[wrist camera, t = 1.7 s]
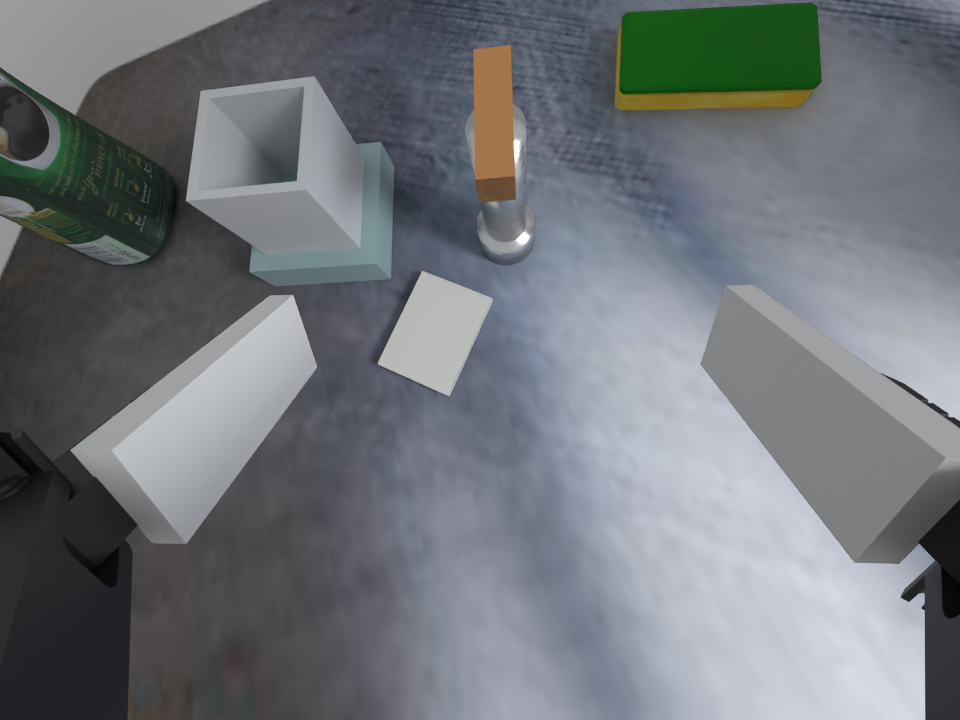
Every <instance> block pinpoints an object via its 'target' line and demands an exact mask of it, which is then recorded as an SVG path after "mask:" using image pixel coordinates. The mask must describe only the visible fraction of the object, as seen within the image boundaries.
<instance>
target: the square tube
mask: <svg viewBox="0 0 960 720" xmlns="http://www.w3.org/2000/svg"><path fill="white" fill-rule="evenodd" d="M393 196H394V166H393V164H392V162H391V160H390V158H389V156H388V154H387V152H386V150H385V148H384V147H383V145H382V143H381V142H374V143H365V144H355V142H354V141H353V139H352V137H351V136H350V134H349V132H348V131H347V129H346V127H345V126H344V124H343V122H342V121H341V119H340V117H339V116H338V114H337V113H336V111H335V109H334V108H333V106H332V104H331V103H330V101H329V99H328V98H327V96H326V94H325V93H324V91H323V89H322V88H321V86H320V84H319V83H318V81H317V79H316V78H315V76H314V77H306V78H298V79H290V80H283V81H275V82H267V83H259V84H252V85H244V86H236V87H228V88H220V89H213V90H205V91H201V93H200V101H199V108H198V115H197V123H196V130H195V138H194V145H193V152H192V160H191V167H190V174H189V182H188V189H187V196H186V201H187V202H188V203H190V204H191V205H193V206H194V207H196V208H197V209H199V210H200V211H202V212H203V213H205V214H206V215H208V216H209V217H211V218H212V219H214V220H215V221H217V222H218V223H220V224H221V225H223V226H224V227H226V228H227V229H229V230H230V231H232V232H233V233H235V234H236V235H238V236H239V237H241V238H242V239H244V240H245V241H247V242H248V243H250V244H251V245H252V250H251V260H250V270H249V272H250V273H252V274H254V275H255V276H257V277H259V278H261V279H263V280H264V281H266V282H268V283H270V284H272V285H273V286H291V285H307V284H323V283H340V282H356V281H373V280H389V279H391V263H392V229H393Z"/></svg>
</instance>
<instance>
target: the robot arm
mask: <svg viewBox="0 0 960 720" xmlns="http://www.w3.org/2000/svg"><path fill="white" fill-rule="evenodd" d="M701 366H702V367H703V368H704V370H705V371H706V372H707V373H708V375H709V376H710V377H711V379H712V380H713V381H714V382H715V384H716V385H717V386H718V388H719V389H720V390H721V391H722V393H723V394H724V395H725V397H726V398H727V399H728V400H729V402H730V403H731V404H732V406H733V407H734V408H735V409H736V411H737V412H738V413H739V415H740V416H741V417H742V418H743V420H744V421H745V422H746V424H747V425H748V426H749V427H750V429H751V430H752V431H753V433H754V434H755V435H756V436H757V438H758V439H759V440H760V442H761V443H762V444H763V445H764V447H765V448H766V449H767V451H768V452H769V453H770V454H771V456H772V457H773V458H774V460H775V461H776V462H777V463H778V465H779V466H780V467H781V469H782V470H783V471H784V472H785V474H786V475H787V476H788V478H789V479H790V480H791V481H792V483H793V484H794V485H795V487H796V488H797V489H798V491H799V492H800V493H801V494H802V496H803V497H804V498H805V500H806V501H807V502H808V503H809V505H810V506H811V507H812V509H813V510H814V511H815V512H816V514H817V515H818V516H819V518H820V519H821V520H822V521H823V523H824V524H825V525H826V527H827V528H828V529H829V530H830V532H831V533H832V534H833V536H834V537H835V538H836V539H837V541H838V542H839V543H840V545H841V546H842V547H843V548H844V550H845V551H846V552H847V554H848V555H849V556H850V557H851V559H852V560H853V561H854V562H855V563H891V564H899V563H900V562H901V561H902V560H903V559H904V558H905V557H906V556H907V555H908V554H909V553H910V552H911V551H912V550H913V549H914V548H915V547H916V546H917V545H918V544H920V545H921V546H922V547H923V548H924V549H925V550H926V551H927V552H928V553H929V554H930V555H931V556H932V557H933V558H934V559H935V560H936V561H935V562H933V563H932V564H931V565H930V566H929V567H928V568H927V569H926V570H925V571H924V572H923V573H922V574H921V575H919V576H918V577H917V578H916V579H915V580H914V581H913V582H912V583H911V584H910V585H909V586H908V587H906V588H905V589H904V591H903V593H902V595H901V598H902V599H904V600H906V601H908V602H909V601H911V600H912V599H913V598H914V597H915V596H916V595H917V594H919V593H925V604H924V605H923V606H922V609H924V610H925V716H926V720H960V421H958V420H957V419H955V418H954V417H948V413H947V412H945V411H944V410H942V409H941V408H939V407H938V406H936V405H935V404H933V403H928V400H927V399H926V398H925V397H923V396H922V395H920V394H919V393H917V392H916V391H914V390H913V389H911V388H910V387H908V386H907V385H905V384H904V383H902V382H899V381H897V380H895V379H893V378H890V377H888V376H886V375H884V374H882V373H879V372H878V371H877V370H875V369H874V368H872V367H871V366H869V365H868V364H866V363H865V362H864V361H862V360H861V359H859V358H858V357H856V356H855V355H853V354H852V353H851V352H849V351H848V350H846V349H845V348H843V347H842V346H840V345H839V344H838V343H836V342H835V341H833V340H832V339H830V338H829V337H827V336H826V335H825V334H823V333H822V332H820V331H819V330H817V329H816V328H814V327H813V326H812V325H810V324H809V323H807V322H806V321H804V320H803V319H802V318H800V317H799V316H797V315H796V314H794V313H793V312H791V311H790V310H789V309H787V308H786V307H784V306H783V305H781V304H780V303H778V302H777V301H776V300H774V299H773V298H771V297H770V296H768V295H767V294H765V293H764V292H763V291H761V290H760V289H758V288H757V287H755V286H754V285H730V286H725V289H724V292H723V295H722V299H721V302H720V305H719V308H718V311H717V314H716V317H715V321H714V324H713V327H712V330H711V333H710V336H709V339H708V342H707V346H706V349H705V352H704V355H703V358H702V361H701ZM316 368H317V365H316V362H315V359H314V356H313V353H312V350H311V347H310V344H309V341H308V338H307V335H306V332H305V329H304V326H303V323H302V320H301V317H300V314H299V311H298V308H297V305H296V302H295V299H294V296H293V295H272V296H269V297H267V298H266V299H265V300H263V301H262V302H261V303H260V304H258V305H257V306H256V307H254V308H253V309H252V310H251V311H249V312H248V313H247V314H245V315H244V316H243V317H241V318H240V319H239V320H238V321H236V322H235V323H234V324H232V325H231V326H230V327H229V328H227V329H226V330H225V331H223V332H222V333H221V334H220V335H218V336H217V337H216V338H214V339H213V340H212V341H210V342H209V343H208V344H207V345H205V346H204V347H203V348H201V349H200V350H199V351H198V352H196V353H195V354H194V355H192V356H191V357H190V358H189V359H187V360H186V361H185V362H183V363H182V364H181V365H179V366H178V367H177V368H176V369H174V370H173V371H172V372H170V373H169V374H168V375H167V376H165V377H164V378H163V379H161V380H160V381H159V382H158V383H156V384H155V385H154V386H152V387H150V388H148V389H147V390H146V391H144V392H143V393H142V394H140V395H139V396H138V397H136V398H135V399H134V400H133V401H131V402H130V404H129V405H126V406H125V407H123V408H122V409H121V410H120V411H118V412H117V413H116V414H115V416H114V417H110V418H109V419H108V420H107V421H105V422H104V423H103V424H101V425H100V426H99V427H97V428H96V429H95V430H94V431H92V432H91V433H90V434H88V435H87V436H86V437H85V438H83V439H82V440H81V441H79V442H78V443H77V444H75V445H74V446H73V447H72V448H70V449H69V450H68V451H66V452H65V453H64V454H62V455H61V456H60V457H59V458H57V459H56V460H55V461H53V462H51V461H50V459H49V458H48V457H47V456H46V455H45V454H44V453H43V452H42V451H41V450H40V449H39V448H38V447H37V446H36V445H35V443H34V442H33V441H32V440H31V439H30V438H29V437H28V436H27V435H26V434H25V433H24V432H23V431H22V430H21V429H18V428H15V427H3V428H0V720H127V715H128V683H129V650H130V618H131V586H132V553H133V552H132V549H131V547H130V545H129V543H128V542H127V541H126V540H125V538H126V537H127V536H128V535H129V534H130V533H131V532H132V531H133V530H134V528H135V527H136V526H138V528H139V529H140V530H141V531H142V532H143V533H144V534H145V536H146V537H147V538H148V539H149V540H150V541H151V542H152V543H169V544H187V542H188V541H189V540H190V538H191V537H192V536H193V534H194V533H195V532H196V530H197V529H198V527H199V526H200V525H201V523H202V522H203V521H204V519H205V518H206V517H207V515H208V514H209V513H210V511H211V510H212V509H213V507H214V506H215V505H216V503H217V502H218V500H219V499H220V498H221V496H222V495H223V494H224V492H225V491H226V490H227V488H228V487H229V486H230V484H231V483H232V482H233V480H234V479H235V478H236V476H237V475H238V473H239V472H240V471H241V469H242V468H243V467H244V465H245V464H246V463H247V461H248V460H249V459H250V457H251V456H252V455H253V453H254V452H255V451H256V449H257V448H258V446H259V445H260V444H261V442H262V441H263V440H264V438H265V437H266V436H267V434H268V433H269V432H270V430H271V429H272V428H273V426H274V425H275V424H276V422H277V421H278V419H279V418H280V417H281V415H282V414H283V413H284V411H285V410H286V409H287V407H288V406H289V405H290V403H291V402H292V401H293V399H294V398H295V397H296V395H297V394H298V392H299V391H300V390H301V388H302V387H303V386H304V384H305V383H306V382H307V380H308V379H309V378H310V376H311V375H312V374H313V372H314V371H315V370H316Z"/></svg>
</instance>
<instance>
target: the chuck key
mask: <svg viewBox="0 0 960 720" xmlns="http://www.w3.org/2000/svg"><path fill="white" fill-rule="evenodd" d="M465 135H466V139H467V144H468V149H469V154H470V158H471V163H472V168H473V172H474V177H475V182H476V187H477V191H478V196H479V201H480V206H481V211H480V213H479V215H478V218H477V231H478V235H479V239H480V243H481V247H482V250H483V252H484V254H485V255H486V256H487V257H488V258H489V259H490V260H491V261H493V262H495V263H497V264H501V265H511V264H515V263H518V262H520V261H522V260H523V259H524V258H526V257H527V256H528V254H529V253H530V252H531V250H532V248H533V245H534V231H535V218H534V214H533V212H532V210H531V208H530V207H529V206H528V204H526V120H525V116H524V114H523V113H522V111H521V110H520V109H519V108H518V107H517V106H516V105H514V104H513V88H512V62H511V45H505V46H497V47H489V48H482V49H474V111H473V112H472V113H471V114H470V116H469V117H468V119H467V122H466V125H465Z"/></svg>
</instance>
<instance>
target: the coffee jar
mask: <svg viewBox="0 0 960 720" xmlns="http://www.w3.org/2000/svg"><path fill="white" fill-rule="evenodd" d="M174 196H175V189H174V183H173V180H172V178H171V176H170V175H169V173H168V172H167V171H166V170H165V169H163V168H162V167H161V166H159V165H158V164H156V163H155V162H153V161H152V160H150V159H148V158H147V157H145V156H144V155H142V154H140V153H139V152H137V151H135V150H134V149H132V148H130V147H129V146H127V145H125V144H123V143H122V142H120V141H118V140H116V139H115V138H113V137H111V136H109V135H108V134H106V133H104V132H102V131H101V130H99V129H97V128H95V127H94V126H92V125H90V124H89V123H87V122H85V121H84V120H82V119H80V118H79V117H77V116H75V115H74V114H72V113H70V112H69V111H67V110H65V109H64V108H62V107H60V106H59V105H57V104H56V103H54V102H52V101H51V100H49V99H47V98H46V97H44V96H43V95H41V94H39V93H38V92H36V91H35V90H33V89H31V88H30V87H28V86H27V85H25V84H24V83H22V82H21V81H19V80H18V79H16V78H15V77H13V76H12V75H10V74H9V73H7V72H6V71H4V70H3V69H2V68H0V216H2V217H5V218H7V219H9V220H11V221H13V222H15V223H17V224H19V225H21V226H23V227H25V228H27V229H29V230H31V231H34V232H36V233H38V234H40V235H42V236H44V237H46V238H48V239H50V240H52V241H54V242H56V243H58V244H60V245H63V246H65V247H67V248H69V249H71V250H73V251H75V252H78V253H80V254H82V255H84V256H87V257H89V258H92V259H94V260H96V261H99V262H102V263H106V264H113V265H133V264H139V263H142V262H145V261H147V260H149V259H151V258H153V257H154V256H155V255H157V254H158V253H159V252H161V251H162V249H163V248H164V246H165V244H166V241H167V238H168V234H169V230H170V226H171V221H172V216H173V208H174Z"/></svg>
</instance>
